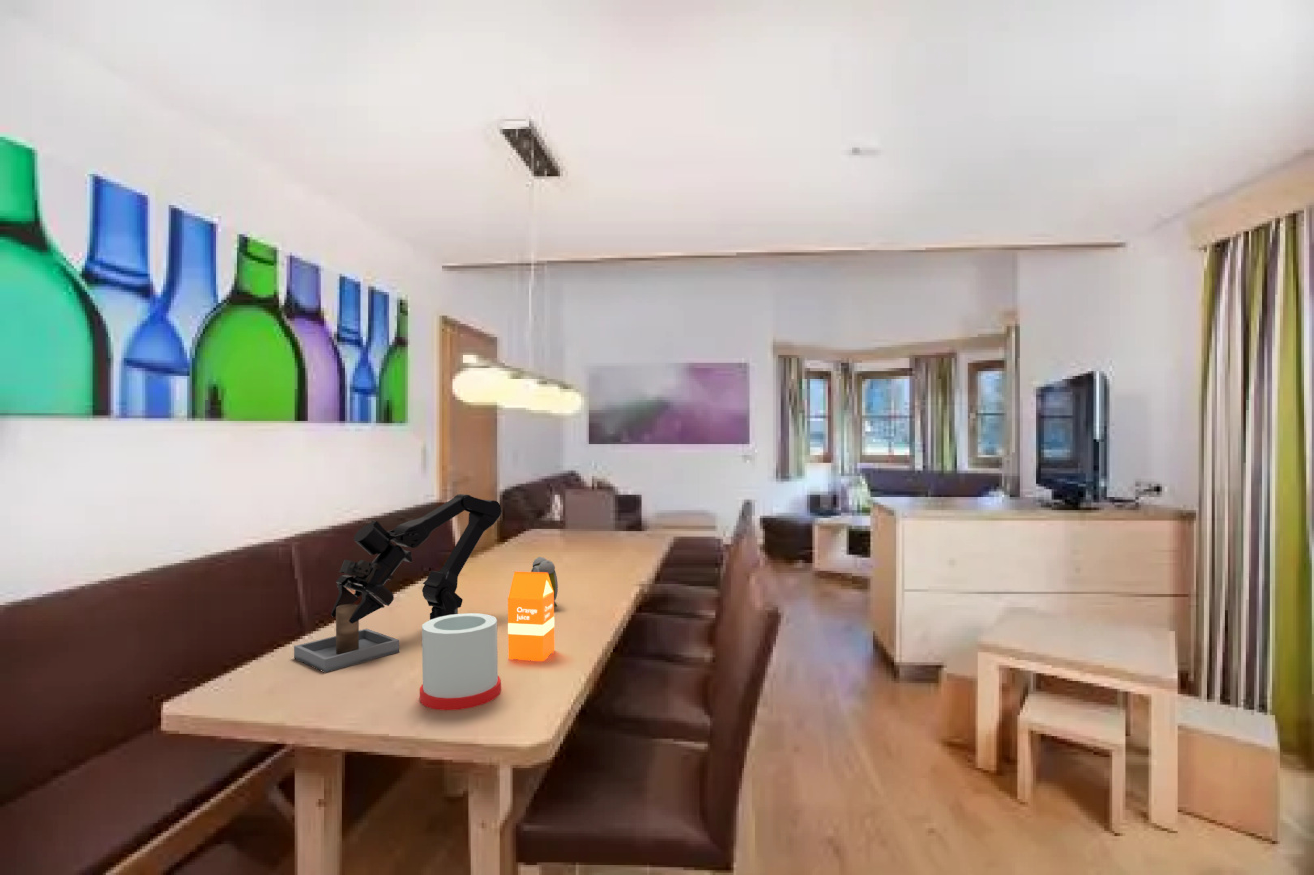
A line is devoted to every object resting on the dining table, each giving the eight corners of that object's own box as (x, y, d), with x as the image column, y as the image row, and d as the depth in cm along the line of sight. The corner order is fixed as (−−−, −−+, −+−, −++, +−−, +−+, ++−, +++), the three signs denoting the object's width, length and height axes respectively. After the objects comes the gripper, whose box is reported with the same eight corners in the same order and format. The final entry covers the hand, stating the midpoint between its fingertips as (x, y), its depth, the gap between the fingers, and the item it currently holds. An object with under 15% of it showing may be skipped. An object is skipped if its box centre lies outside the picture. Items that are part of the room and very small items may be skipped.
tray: (366, 640, 176) (366, 628, 176) (399, 652, 166) (399, 639, 165) (294, 658, 162) (294, 645, 162) (324, 672, 152) (324, 659, 152)
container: (470, 674, 150) (469, 608, 150) (516, 691, 140) (516, 620, 139) (404, 696, 137) (403, 625, 137) (449, 717, 127) (448, 639, 127)
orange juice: (543, 661, 158) (542, 576, 157) (508, 659, 159) (506, 574, 159) (555, 650, 165) (553, 569, 165) (521, 648, 167) (520, 568, 167)
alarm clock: (529, 604, 210) (529, 556, 210) (550, 602, 213) (550, 554, 213) (541, 613, 200) (541, 562, 200) (563, 610, 203) (562, 560, 203)
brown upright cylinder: (363, 650, 165) (363, 605, 165) (346, 656, 160) (346, 610, 160) (348, 647, 167) (348, 603, 167) (331, 653, 162) (331, 607, 162)
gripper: (343, 543, 172) (299, 594, 164) (380, 550, 161) (335, 606, 152) (373, 568, 179) (332, 619, 170) (411, 577, 167) (369, 633, 158)
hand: (341, 619), depth 162 cm, fingers open, 9 cm apart
